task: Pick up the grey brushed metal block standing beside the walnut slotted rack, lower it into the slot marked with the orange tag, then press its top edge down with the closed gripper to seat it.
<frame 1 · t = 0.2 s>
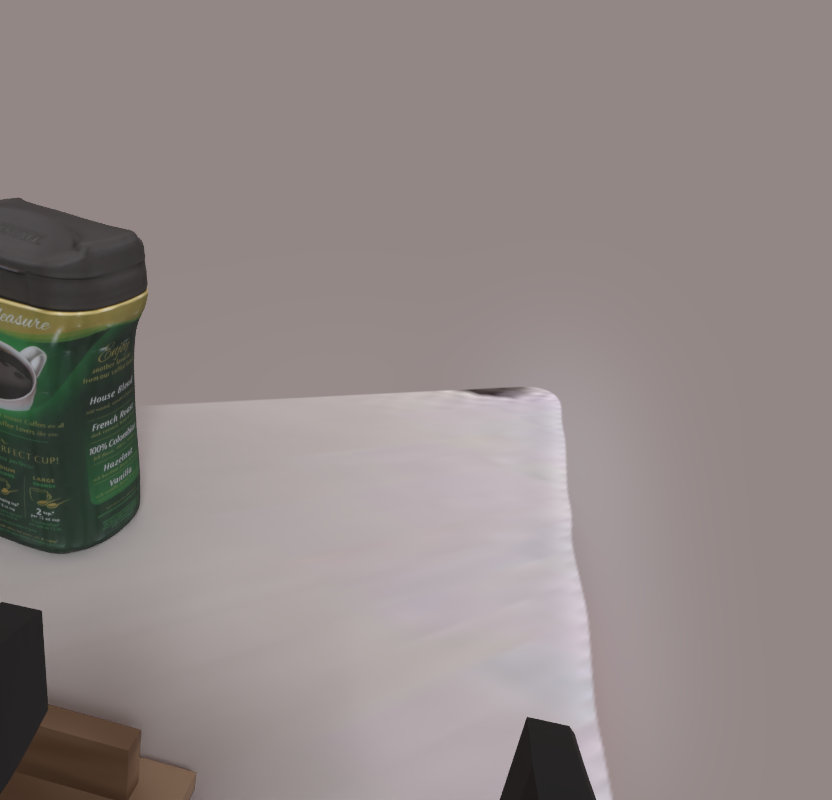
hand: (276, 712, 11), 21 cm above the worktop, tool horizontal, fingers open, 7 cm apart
coffee jar: (53, 515, 48), on the worktop
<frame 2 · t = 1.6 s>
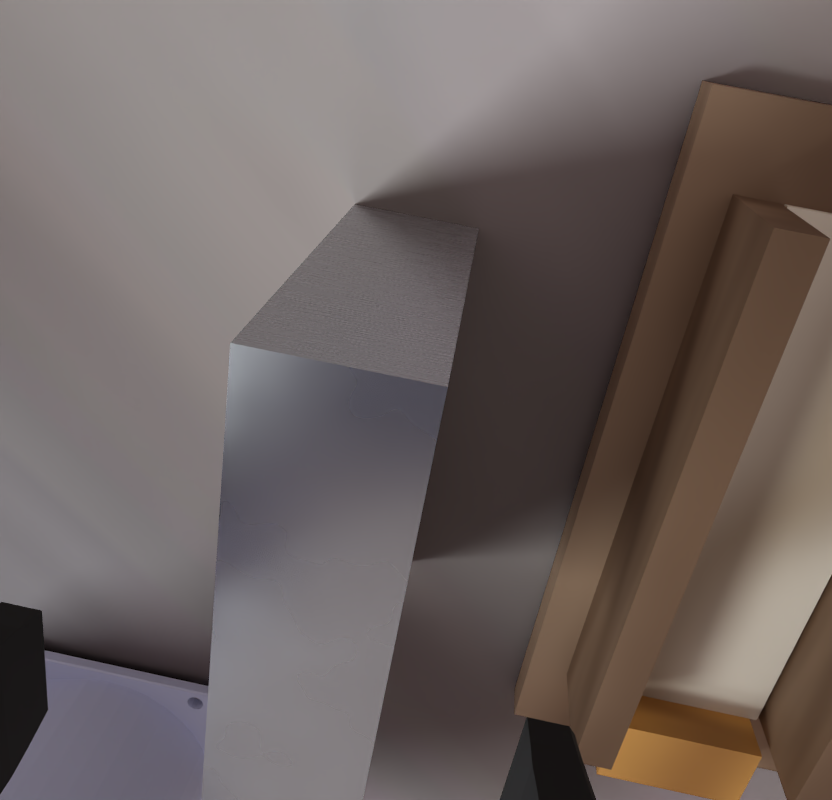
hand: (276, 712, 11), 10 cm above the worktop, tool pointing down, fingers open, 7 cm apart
grey brushed metal block: (385, 400, 21), on the worktop
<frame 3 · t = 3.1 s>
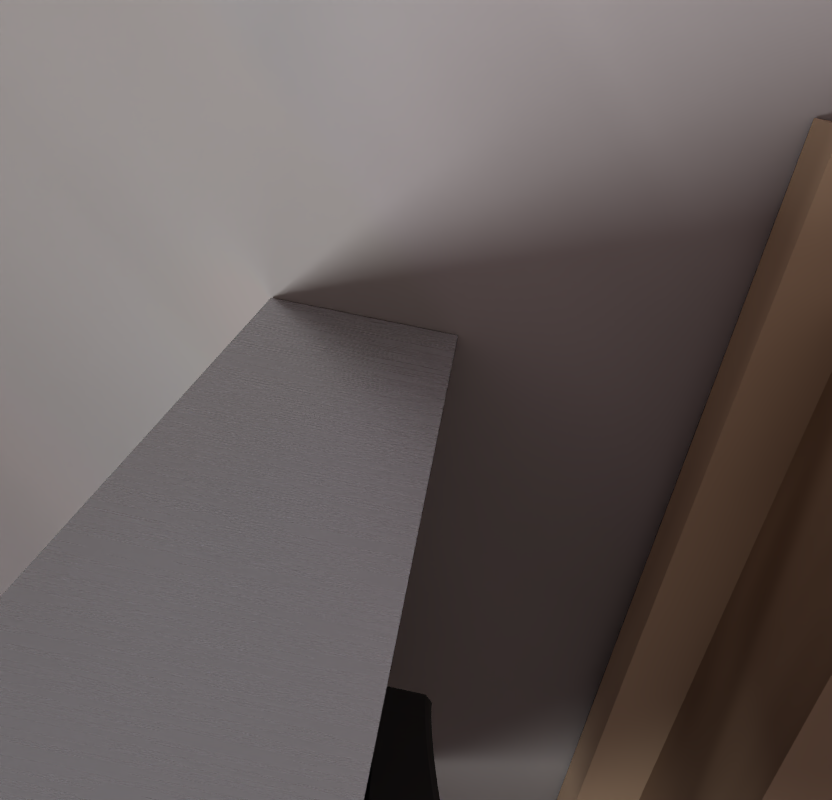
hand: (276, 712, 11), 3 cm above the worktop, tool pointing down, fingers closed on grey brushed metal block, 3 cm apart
grey brushed metal block: (327, 566, 15), on the worktop, touching gripper
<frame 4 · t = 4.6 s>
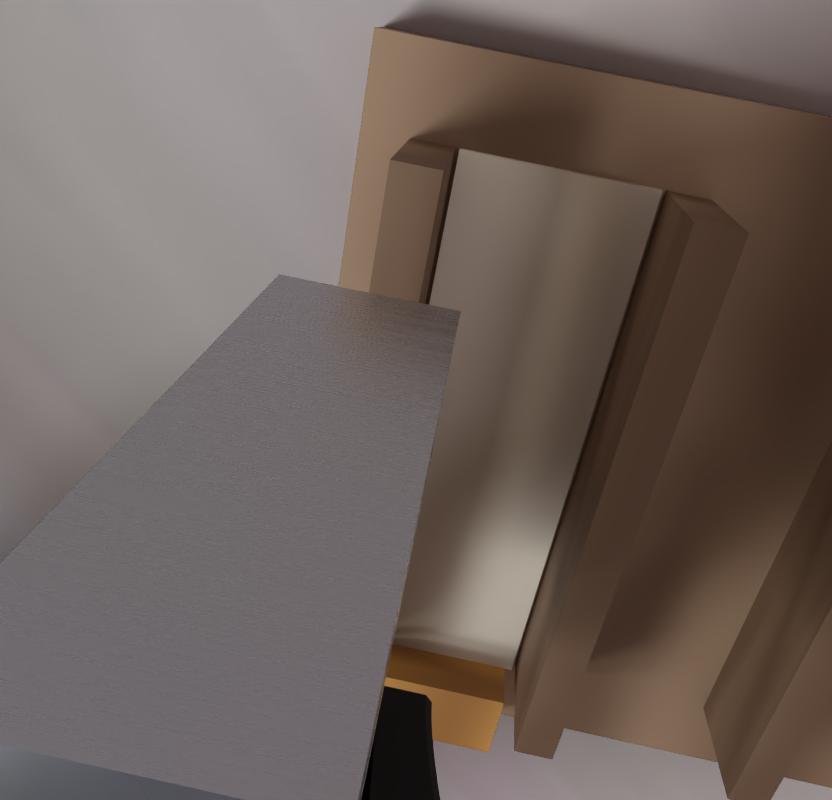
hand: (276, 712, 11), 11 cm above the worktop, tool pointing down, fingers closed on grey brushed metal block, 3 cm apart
grey brushed metal block: (333, 540, 15), point 7 cm above the worktop, touching gripper
slot rack: (698, 472, 21), on the worktop
when the fingers open (5 cm above the worktop, at t = 6.1 s): grey brushed metal block stays where it is, resting on slot rack.
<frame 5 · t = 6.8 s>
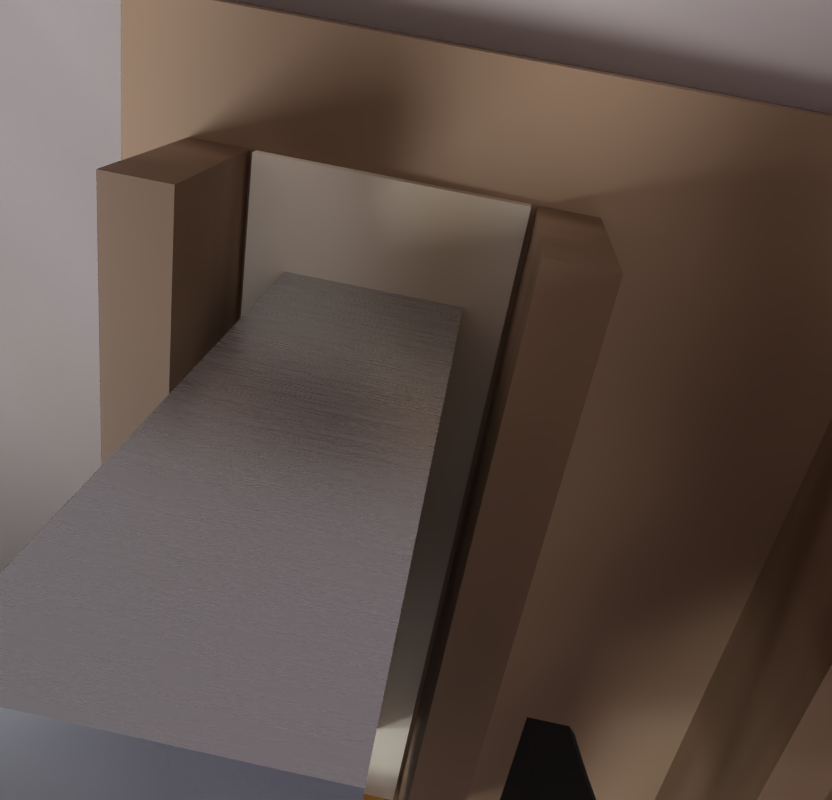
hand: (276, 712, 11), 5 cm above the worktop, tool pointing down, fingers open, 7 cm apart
grey brushed metal block: (337, 533, 15), point 1 cm above the worktop, touching slot rack
slot rack: (614, 563, 16), on the worktop
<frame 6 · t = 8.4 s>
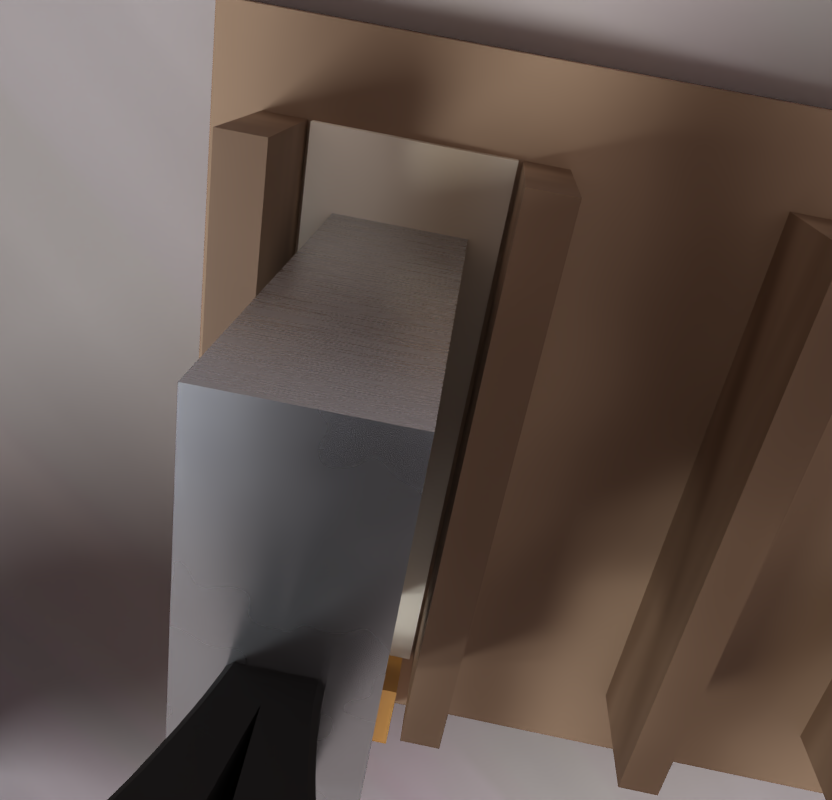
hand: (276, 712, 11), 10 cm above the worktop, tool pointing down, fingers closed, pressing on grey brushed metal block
grey brushed metal block: (368, 425, 19), point 1 cm above the worktop, touching gripper, slot rack
slot rack: (587, 453, 20), on the worktop
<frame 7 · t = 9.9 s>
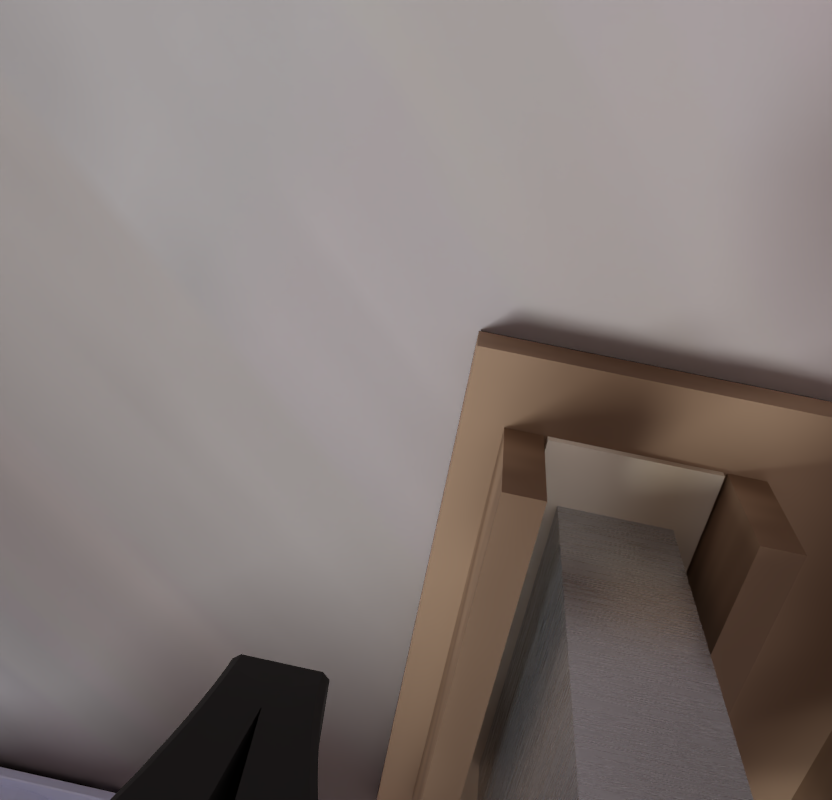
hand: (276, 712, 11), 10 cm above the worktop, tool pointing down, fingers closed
grey brushed metal block: (566, 660, 22), point 1 cm above the worktop, touching slot rack
slot rack: (748, 675, 23), on the worktop
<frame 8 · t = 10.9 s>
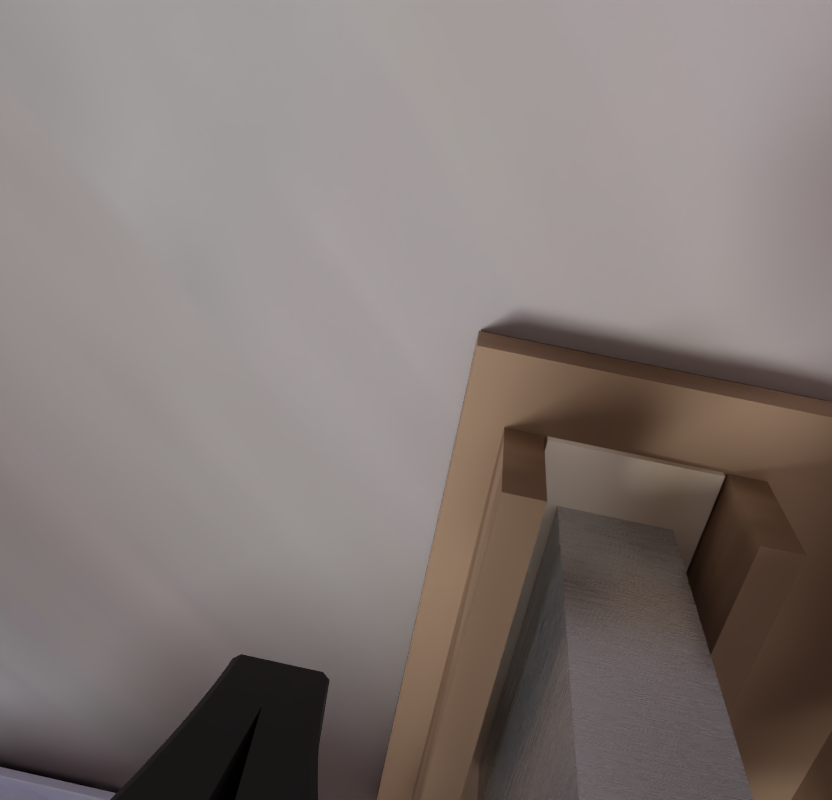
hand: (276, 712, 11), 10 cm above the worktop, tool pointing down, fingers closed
grey brushed metal block: (566, 660, 22), point 1 cm above the worktop, touching slot rack
slot rack: (748, 675, 23), on the worktop
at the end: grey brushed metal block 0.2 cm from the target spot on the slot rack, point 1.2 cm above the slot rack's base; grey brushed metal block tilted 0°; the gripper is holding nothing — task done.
